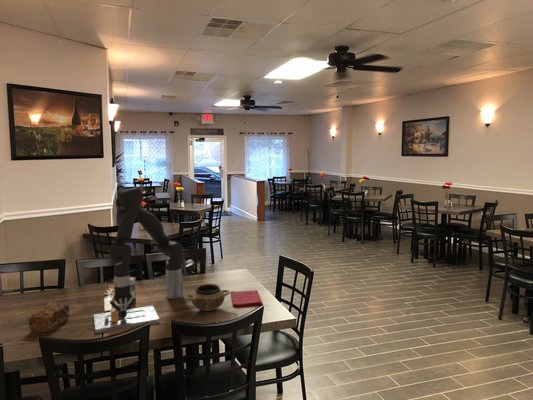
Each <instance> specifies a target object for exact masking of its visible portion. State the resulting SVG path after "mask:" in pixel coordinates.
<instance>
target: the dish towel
mask: <svg viewBox="0 0 533 400" xmlns="http://www.w3.org/2000/svg"><path fill="white" fill-rule="evenodd" d="M230 301H231V305H232V308H243V307H244V308H246V307H248V308H249V307H263V305H264V304H263V302H262V299H261V296H260V294H259V291H258V290H244V291H243V290H242V291H234V290H230Z"/></svg>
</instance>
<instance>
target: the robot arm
mask: <svg viewBox="0 0 533 400" xmlns="http://www.w3.org/2000/svg"><path fill="white" fill-rule="evenodd" d="M118 199H119V202H120V204H121V205H122V206H123V207H124V208H125V210H127V211H126V212H125V214H124V216H123V217H122V219H121V220H120V223H119V224H118V228H117V232H116V236H115V238H114V240H113V242H112V244H111V245H110V248H109V251H108V253H109V257H110V258H111V259H112V260H122V261H121V262H117V263H116V264H115V265H114V266H113V272H114V278H113V285H114V287H113V288H114V296H113V299H112V300H109V305H111V306H112V307H113V308H114V309H116V310H117V311H118V310H119V311H120V313H121V317H122V318H125V316H127V309H132V308H131V307H132V306H133V305H134V304H135V303H136V302H137V297H136V298H135V297H133V296H132V295H131V292H130V262H131V257H132V254H133V248H132V247H131V245H129V244H125V243H129V242H130V241H131V239H132V235H133V231H134V225H135V222H136V221H137V222H138V223H139V224H140V225H141V226H142V228H143V229H144V230H145V232H146V233H147V234H148V235H149V236H150V238H152V239H153V241H155V242H156V243H155V244H156V245H157V246H158V248H159V249H160V250H161V252H162V254H163V255H164V256H166V257H169V262H168V263H166V264H165V288H166V298H167V299H169V300H175V299H179V298H184V281H183V279H182V278H183V277H182V276H183V275H182V273H183V272H182V269H183V267H182V265H183V263H184V261H183V260H184V249H183V245H182V244H181V243H180V242H177V241H172V240H171V239H170V238H169V236H167V235H166V233H165V229H164V226H163V224H162V222H161V221H160V220H159V218H158V217H157V216H156V215H155V214H154V213H151V211H148V210H146V209H144V208H142V207H141V206H142V204H143V200H144V194H143V192H142V190H141V189H140V188H138V187H133V188H128V189H125V190H122V191H121V192H119V195H118ZM130 299H131V301H130V303H129V304H128V305H127V303H128V302H129V300H130ZM135 301H136V302H135ZM134 302H135V303H134ZM117 303H118V304H120V307H118V306H117ZM122 304H124V310H123V305H122Z"/></svg>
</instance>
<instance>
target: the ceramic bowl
mask: <svg viewBox="0 0 533 400" xmlns="http://www.w3.org/2000/svg"><path fill="white" fill-rule="evenodd" d="M229 294H231V290H228V289H221V288H220V286H219V285H217V284H214V283H205V284H204V283H203V284H200V285H197V286H196V287H195V290H194V291H193V292H192V293H189V294H186V295H185V297H184V299H185V300H186V301H189V302H190V301H191V303H192V305H194V306H195V308H196V309H198V311H199V312H200V313H201V314H213V313H215V312H217V310H218V308H219V307H221V306H222V304H224V301H225V297H226V296H229Z"/></svg>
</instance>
